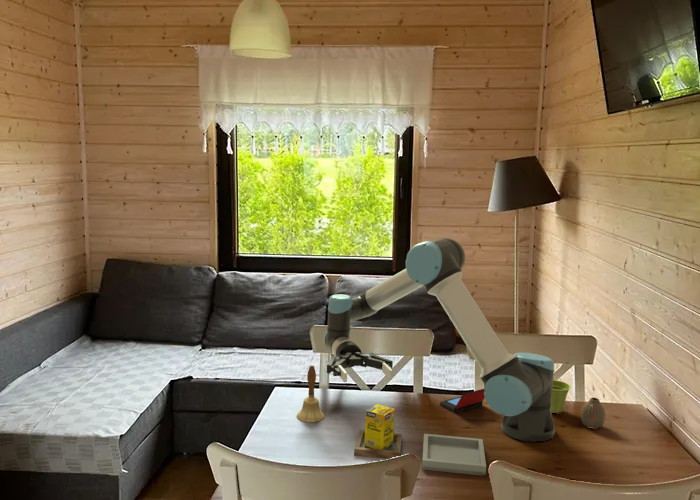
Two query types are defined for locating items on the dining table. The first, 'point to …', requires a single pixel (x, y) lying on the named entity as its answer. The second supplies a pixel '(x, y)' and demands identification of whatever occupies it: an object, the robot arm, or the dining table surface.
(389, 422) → the supplement box
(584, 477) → the dining table surface
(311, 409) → the hand bell
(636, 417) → the dining table surface
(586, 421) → the vase
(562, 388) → the plant pot
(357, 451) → the walnut collar
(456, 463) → the grey tray
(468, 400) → the handheld game console
